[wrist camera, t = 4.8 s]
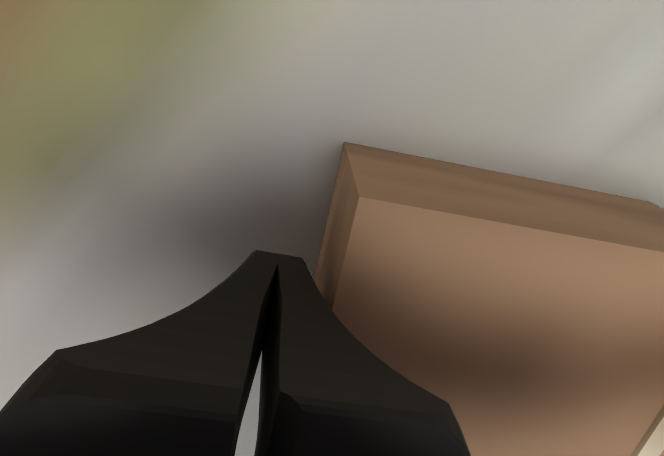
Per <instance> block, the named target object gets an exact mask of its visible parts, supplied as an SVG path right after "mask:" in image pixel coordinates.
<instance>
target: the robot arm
mask: <svg viewBox="0 0 664 456" xmlns="http://www.w3.org/2000/svg"><path fill="white" fill-rule="evenodd" d="M261 352H262V363H261V382H260V402H259V422H258V433H257V441H256V448H255V455H254V456H471V454H470V451H469V449H468V446H467V443H466V440H465V438H464V435H463V433H462V430H461V428H460V425H459V423H458V421H457V419H456V417H455V415H454V413H453V411H452V409H451V407H450V405H449V403H448V402H446V401H444V400H442V399H441V398H439V397H437V396H435V395H434V394H432V393H430V392H428V391H427V390H425V389H423V388H421V387H420V386H418V385H416V384H414V383H413V382H411V381H410V380H408V379H407V378H405V377H404V376H402V375H401V374H399V373H398V372H396V371H395V370H394V369H392V368H391V367H389V366H388V365H387V364H385V363H384V362H383V361H381V360H380V359H379V358H378V357H377V356H375V355H374V354H373V353H372V352H371V351H370V350H368V349H367V348H366V347H365V346H364V345H363V344H362V343H361V342H360V341H358V340H357V339H356V338H355V337H354V336H353V334H352V333H351V332H350V331H349V330H348V329H347V328H346V327H345V326H344V325H343V324H342V323H341V321H340V320H339V319H338V318H337V317H336V315H335V314H334V313H333V311H332V310H331V308H330V307H329V305H328V304H327V302H326V301H325V299H324V298H323V296H322V295H321V293H320V291H319V290H318V288H317V286H316V284H315V283H314V281H313V279H312V277H311V275H310V273H309V271H308V269H307V266H306V264H305V262H304V260H303V259H302V258H300V257H294V256H288V255H282V254H276V253H270V252H264V251H258V250H256V251H254V252H253V253H251V255H250V256H249V257H248V258H247V260H246V261H245V262H244V263H243V264H242V265H241V266H240V267H239V268H238V269H237V270H236V271H235V272H233V273H232V274H231V275H230V276H229V277H228V278H227V279H226V280H224V281H223V282H222V283H221V284H219V285H218V286H217V287H215V288H214V289H213V290H211V291H210V292H209V293H208V294H206V295H205V296H203V297H202V298H200V299H199V300H197V301H196V302H194V303H193V304H191V305H189V306H188V307H186V308H184V309H182V310H180V311H178V312H176V313H174V314H172V315H170V316H167V317H165V318H163V319H161V320H158V321H156V322H154V323H152V324H149V325H147V326H144V327H141V328H138V329H136V330H133V331H130V332H127V333H124V334H120V335H117V336H114V337H110V338H107V339H103V340H99V341H95V342H90V343H86V344H82V345H78V346H73V347H69V348H64V349H59V350H56V351H55V352H54V353H53V354H52V355H51V356H50V357H49V358H48V359H47V360H46V361H45V362H44V363H43V364H42V365H40V366H39V367H38V368H37V369H36V370H35V371H34V372H33V373H32V375H31V376H30V377H29V378H28V379H27V380H26V381H25V382H24V383H23V384H22V386H21V387H20V388H19V389H18V390H17V392H16V393H15V394H14V395H13V396H12V398H11V399H10V400H9V401H8V402H7V404H6V405H5V406H4V407H3V408H2V410H1V411H0V456H234V455H235V450H236V444H237V439H238V434H239V430H240V426H241V422H242V418H243V414H244V411H245V407H246V404H247V400H248V397H249V394H250V390H251V387H252V383H253V380H254V376H255V373H256V369H257V366H258V362H259V359H260V355H261Z"/></svg>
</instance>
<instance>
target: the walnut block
mask: <svg viewBox="0 0 664 456" xmlns="http://www.w3.org/2000/svg"><path fill="white" fill-rule="evenodd" d="M314 283H315V284H316V286H317V288H318V290H319V291H320V293H321V295H322V296H323V298H324V299H325V301H326V302H327V304H328V305H329V307H330V308H331V310H332V311H333V313H334V314H335V315H336V317H337V318H338V319H339V320H340V321H341V323H342V324H343V325H344V326H345V327H346V328H347V329H348V330H349V331H350V332H351V333H352V334H353V336H354V337H355V338H356V339H357V340H358V341H360V342H361V343H362V344H363V345H364V346H365V347H366V348H367V349H368V350H370V351H371V352H372V353H373V354H374V355H375V356H377V357H378V358H379V359H380V360H381V361H383V362H384V363H385V364H387V365H388V366H389V367H391V368H392V369H394V370H395V371H396V372H398V373H399V374H401V375H402V376H404V377H405V378H407V379H408V380H410V381H411V382H413V383H414V384H416V385H418V386H420V387H421V388H423V389H425V390H427V391H428V392H430V393H432V394H434V395H435V396H437V397H439V398H441V399H442V400H444V401H446V402H448V403H449V405H450V407H451V409H452V411H453V413H454V415H455V417H456V419H457V421H458V423H459V425H460V428H461V430H462V433H463V435H464V438H465V440H466V443H467V446H468V449H469V451H470V454H471V456H664V209H662V208H660V207H658V206H656V205H654V204H652V203H650V202H647V201H642V200H637V199H632V198H627V197H622V196H617V195H611V194H606V193H601V192H596V191H591V190H586V189H581V188H576V187H571V186H566V185H561V184H555V183H550V182H545V181H540V180H535V179H530V178H525V177H520V176H515V175H510V174H505V173H500V172H494V171H489V170H484V169H479V168H474V167H469V166H464V165H459V164H454V163H449V162H444V161H438V160H433V159H428V158H423V157H418V156H413V155H408V154H403V153H398V152H393V151H388V150H383V149H377V148H372V147H367V146H362V145H357V144H352V143H347V142H344V145H343V150H342V154H341V159H340V164H339V168H338V173H337V177H336V182H335V187H334V191H333V196H332V200H331V205H330V210H329V214H328V219H327V223H326V228H325V233H324V237H323V242H322V246H321V251H320V256H319V260H318V265H317V270H316V274H315V279H314Z"/></svg>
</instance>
